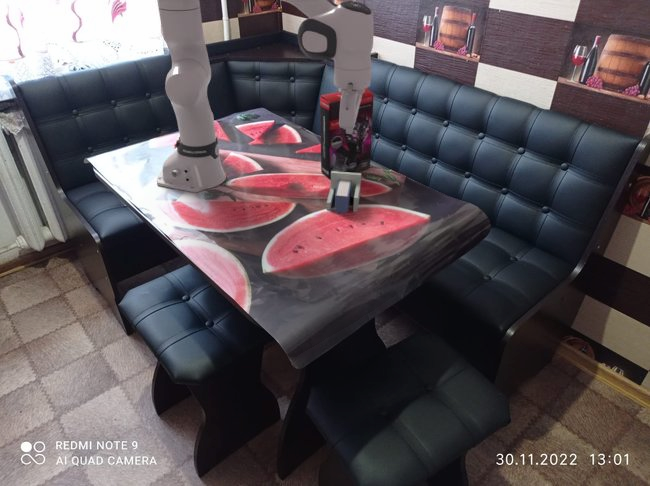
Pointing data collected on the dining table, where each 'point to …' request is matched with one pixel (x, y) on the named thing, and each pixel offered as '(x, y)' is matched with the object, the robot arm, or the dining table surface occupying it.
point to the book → (343, 196)
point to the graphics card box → (345, 136)
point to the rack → (354, 186)
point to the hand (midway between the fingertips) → (349, 131)
